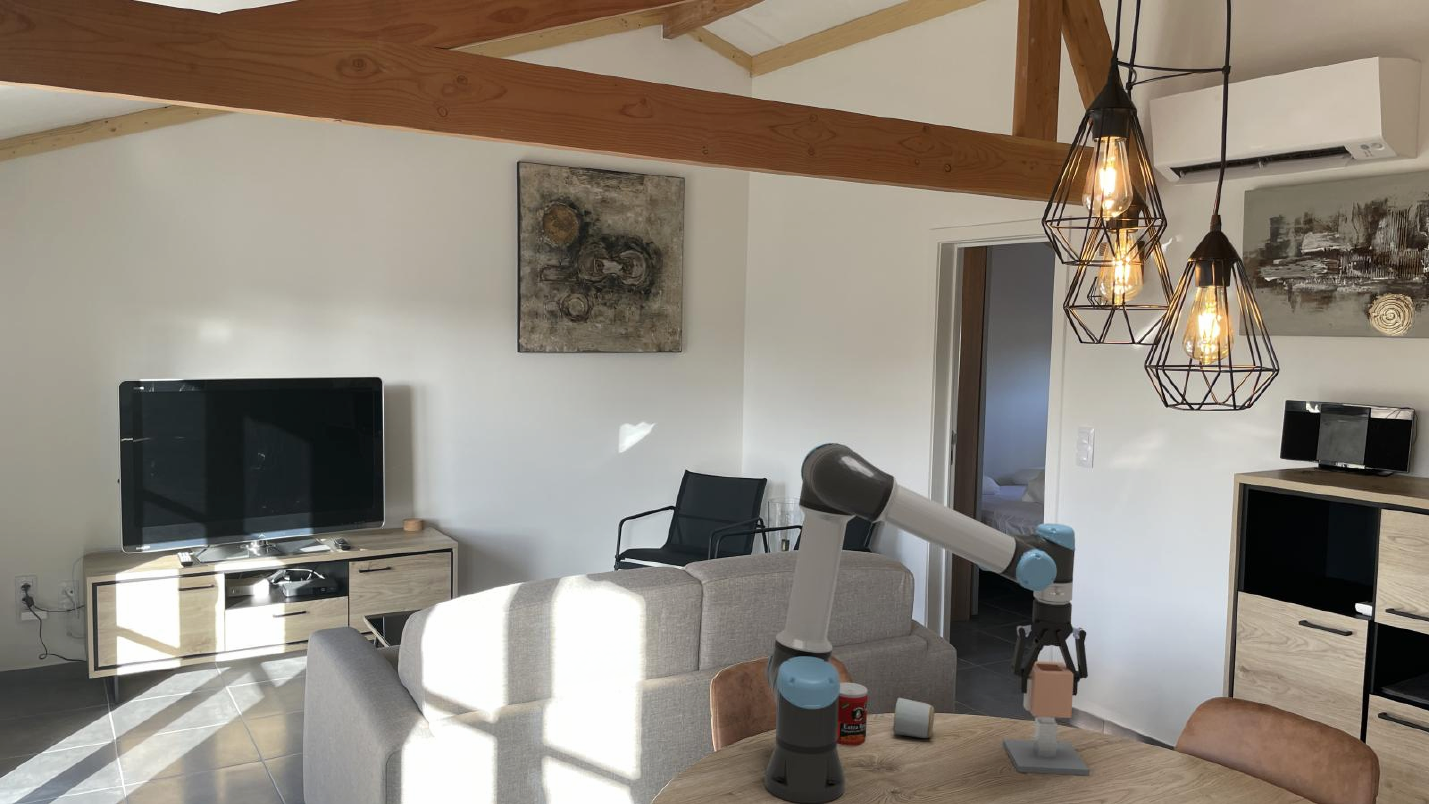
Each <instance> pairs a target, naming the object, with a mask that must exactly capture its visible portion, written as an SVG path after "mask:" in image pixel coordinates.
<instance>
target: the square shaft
mask: <svg viewBox="0 0 1429 804" xmlns="http://www.w3.org/2000/svg"><path fill="white" fill-rule="evenodd" d="M1058 728H1059V726H1058V722H1057V721H1056V717H1038V716H1034V735H1033V736H1034V738H1033V741H1034V751H1035V753H1036V754H1037V756H1038V757H1050V758H1056V749H1057V742H1058V730H1059V729H1058Z"/></svg>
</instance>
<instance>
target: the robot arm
mask: <svg viewBox="0 0 1429 804" xmlns="http://www.w3.org/2000/svg"><path fill="white" fill-rule="evenodd" d="M800 476H801V480H802V484H801V488H800V489H801V490H800V496H799V501H798V507H799V508H800V509H801V511H802V512H803V514H804V515H803V516H804V517H803V522H802V529H801V535H800V541H799V546H798V552H797V557H796V564H795V569H794V575H793V581H792V587H791V592H790V598H789V605H788V610H787V616H786V620H785V621H786V622H785V627H784V629H783V630H782V631H780V632H779V633H778V634H776V636H775V641H774V648H773V651H772V652H771V654H770V655H769V659H768V660H767V661H768V662H767V665H766V679H767V683H768V685H769V688H770V691H771V693H772V695H773V699H774V702H775V705H776V722H775V745H774V748H773V751H772V753H771V756H770V759H769V762H768V764H767V768H766V770H765V774H764V775H765V778H764V779H765V780H764V784H765V788H766V789H767V791H768V792H769V793H771V794H772V795H773V796H775V797H777V798H780V799H783V800H786V801H789V802H794V803H800V804H801V803H802V804H820V803H821V804H822V803H827V802H832V801H835V800H836V799H838V798H840V797H841V796H842V795H843V794H844V792H845V785H846V783H845V782H846V778H845V777H846V776H845V773H844V770H843V766H842V762H841V759H840V756H839V752H838V743H837V729H838V704H839V693H840V683H841V682H840V675H839V671H838V669H837V668H836V667H835V666H834V665H833V663H831V657H832V653H833V645H832V643H831V642H830V641H829V639H828V631H829V625H830V622H831V621H830V620H831V614H832V608H833V604H834V597H835V591H836V586H837V580H838V574H839V570H840V569H839V568H840V563H841V557H842V552H843V545H844V541H845V534H846V530H847V524H848V522H849V521H851V520H852V519H854V518H855V517H859V518H862V519H863V520H866V521H869V522H870V523H873V524H875V523H877V522H879V521H881V522H882V523H883V522H884V523H887V525H888V524H889V525H890V526H893V527H895V528H897V529H899V530H901V531H904V532H906V533H908V534H910V535H912V536H915V537H916V538H919V539H921V540H923V541H925V542H927V543H931V544H932V545H934V546H937V547H939V548H941V549H943V550H945V551H948V552H950V553H952V554H954V555H956V556H959V557H961V558H962V559H965V560H968V561H970V562H972V563H973V564H977V565H978V567H979V569H981V570H982V571H987V572H989V571H990V572H992V573H993V572H994V573H996V574H998V575H1000V576H1002V577H1004V578H1006V579H1008V580H1010V581H1013V582H1015V583H1017V584H1018V585H1020V587H1022V588H1024V589H1028V590H1030V591H1033V597H1034V599H1033V601H1032V620H1031V622H1030V623H1029V624H1028V625H1020V624H1018V625H1016V634H1017V636H1016V642H1015V647H1014V651H1013V656H1012V662H1011V667H1010V670H1011V673H1013V674H1014V675H1015V676H1018V677H1019V691H1020V693H1021V694H1023V704H1022V705H1023V708H1024V709H1025V710H1026V711H1027V712H1030V704H1031V684H1032V679H1031V678H1030V677H1029V674H1030V672H1031V670H1032V668H1033V666H1034V664H1035V662H1036V661H1038V658H1039V656H1040V653H1041V651H1043V649H1044V647H1048V646H1049V647H1050V646H1054V647H1058V648H1059V650H1060V654H1061V656H1062V659H1063V661H1064V662H1063V663H1064V664H1065V665H1066V667H1067V668H1068V669H1069V670H1070V671H1071V672H1072V673H1073V674H1074V676H1073V695H1072V697H1073V696H1074V697H1075V696H1077V695H1078V685H1079V682H1080V681H1081V680H1082V679H1087V678H1088V676H1089V674H1088V673H1089V672H1088V664H1087V655H1086V654H1087V653H1086V645H1085V641H1086V636H1087V631H1085V630H1084V629H1083V628H1082V627H1073V625H1072V612H1073V610H1072V609H1073V605H1072V602H1071V601H1072V600H1073V583H1074V582H1073V581H1074V567H1075V566H1074V565H1075V551H1076V537H1075V530H1074V529H1073V528H1072V526H1069V525H1066V524H1062V523H1040V524H1038V525H1037V526H1036V531H1035V533H1033V534H1021V533H1020V534H1019V533H1018V534H1017V533H1013V534H1012V533H1004V532H1002V531H1000V530H997V529H995V528H994V527H992V526H989V525H987V524H984V523H982V522H981V521H978V520H976V519H974V518H971V517H970V516H967V515H965V514H963V513H961V512H959V511H956V510H954V509H952V508H951V507H948V506H946V505H944V504H942V503H940V502H937V501H935V500H933V499H931V498H928V497H926V496H924V495H922V494H920V493H917V492H916V491H914V490H911V489H910V488H906V487H905V486H902V485H901V484H898V483H897V480H896V477H895V476H893V475H891V474H889V473H887V472H885V471H883V470H882V469H879V468H878V467H877V466H875V465H874V464H872V463H870V462H869V461H868V460H867V459H865V458H864V457H863V456H862V455H860V454H858V453H857V452H855V451H854V450H853V449H852V448H850V447H848V445H845V444H841V443H838V442H826V443H821V444H819V445H817V446H814V447H813V448H812V449H811V450H810V451H808V453H807V454H806V455H805V457H804V459H803V461H802V465H801V468H800ZM1030 633H1032V635H1034V639H1033V641H1032V645H1031V646H1030V649H1029V651H1028V653H1027V654H1026V657H1025V659H1024V662H1023V658H1024V657H1023V656H1024V654H1025V653H1024V652H1025V649H1026V643H1027V638H1028V637H1029V635H1030ZM1071 635H1072V636H1073V638H1074V641H1075V642H1074V643H1075V651H1076V652H1075V654H1076V661H1077V663H1076V664H1077V668H1076V667H1075V664H1074V662H1073V659H1072V658H1073V657H1072V656H1071V653H1070V650H1069V646H1068V644H1067V640H1068V638H1069V637H1070V636H1071ZM1076 669H1077V670H1076Z"/></svg>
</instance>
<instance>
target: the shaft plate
mask: <svg viewBox="0 0 1429 804" xmlns="http://www.w3.org/2000/svg"><path fill="white" fill-rule="evenodd" d="M1002 746H1003V747H1004V750H1005V751H1006V753H1007V755H1008V756H1009V758H1010V760H1011V761H1012V764H1013V766H1014V767H1015V769H1016V770H1017V772H1018V773H1029V774H1030V773H1033V774H1050V775H1051V774H1052V775H1068V776H1069V775H1071V776H1087V777H1089V776H1090V771H1091V770H1090V768H1089V767H1088V766H1087V764H1086V762H1084V760H1083V759H1082V758H1081V756H1080V754H1079V753H1078V752H1077V750H1076V749H1075V747H1074V746H1073V745H1072V744H1071V742H1070V741H1069V742H1068V741H1066V742H1065V741H1057V749H1056V758H1050V757H1038V756H1037V754H1036V753H1035V751H1034V739H1032V740H1031V739H1027V740H1026V739H1014V738H1013V739H1008V738H1003V739H1002Z"/></svg>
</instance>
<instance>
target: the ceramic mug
mask: <svg viewBox="0 0 1429 804" xmlns="http://www.w3.org/2000/svg"><path fill="white" fill-rule="evenodd" d="M896 700H897V701H896V704H895V709H894V717H893V728H892V730H893V735H900V736H907V737H915V738H920V739H930V737H931V736H932V734H933V729H934V721H935V707H934V706H933V705H932V704H928V703H925V702H920V701H916V700H911V699H906V698H903V697H898V698H897V699H896Z"/></svg>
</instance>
